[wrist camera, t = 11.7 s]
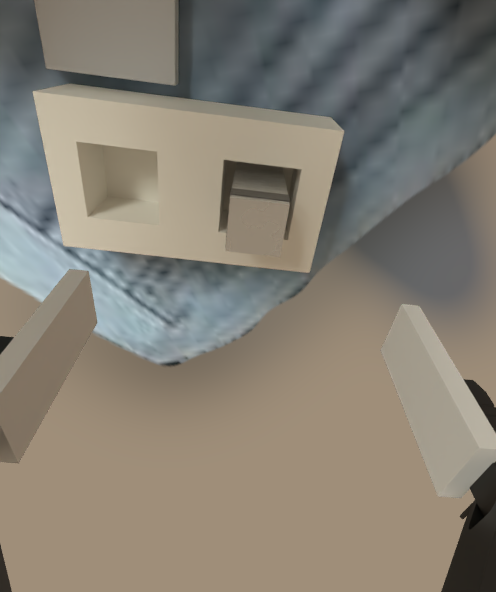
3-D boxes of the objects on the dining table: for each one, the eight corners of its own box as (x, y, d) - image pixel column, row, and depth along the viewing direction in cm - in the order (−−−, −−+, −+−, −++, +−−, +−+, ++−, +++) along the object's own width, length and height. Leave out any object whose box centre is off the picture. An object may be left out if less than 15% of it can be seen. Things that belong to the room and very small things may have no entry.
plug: (232, 201, 34) (224, 251, 26) (237, 157, 32) (229, 196, 24) (275, 206, 35) (280, 257, 26) (282, 163, 32) (290, 204, 24)
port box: (90, 221, 37) (64, 248, 32) (69, 83, 30) (32, 91, 25) (302, 245, 38) (308, 275, 33) (330, 117, 31) (344, 131, 26)
